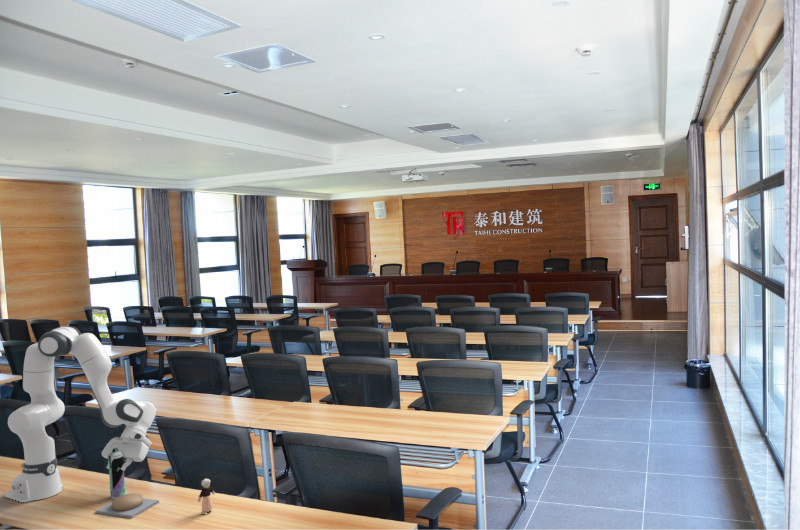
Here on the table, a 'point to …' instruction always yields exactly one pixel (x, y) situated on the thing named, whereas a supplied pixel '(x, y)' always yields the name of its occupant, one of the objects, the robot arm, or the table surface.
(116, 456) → the spray can
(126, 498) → the display stand
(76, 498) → the table surface
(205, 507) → the grandmother figurine
